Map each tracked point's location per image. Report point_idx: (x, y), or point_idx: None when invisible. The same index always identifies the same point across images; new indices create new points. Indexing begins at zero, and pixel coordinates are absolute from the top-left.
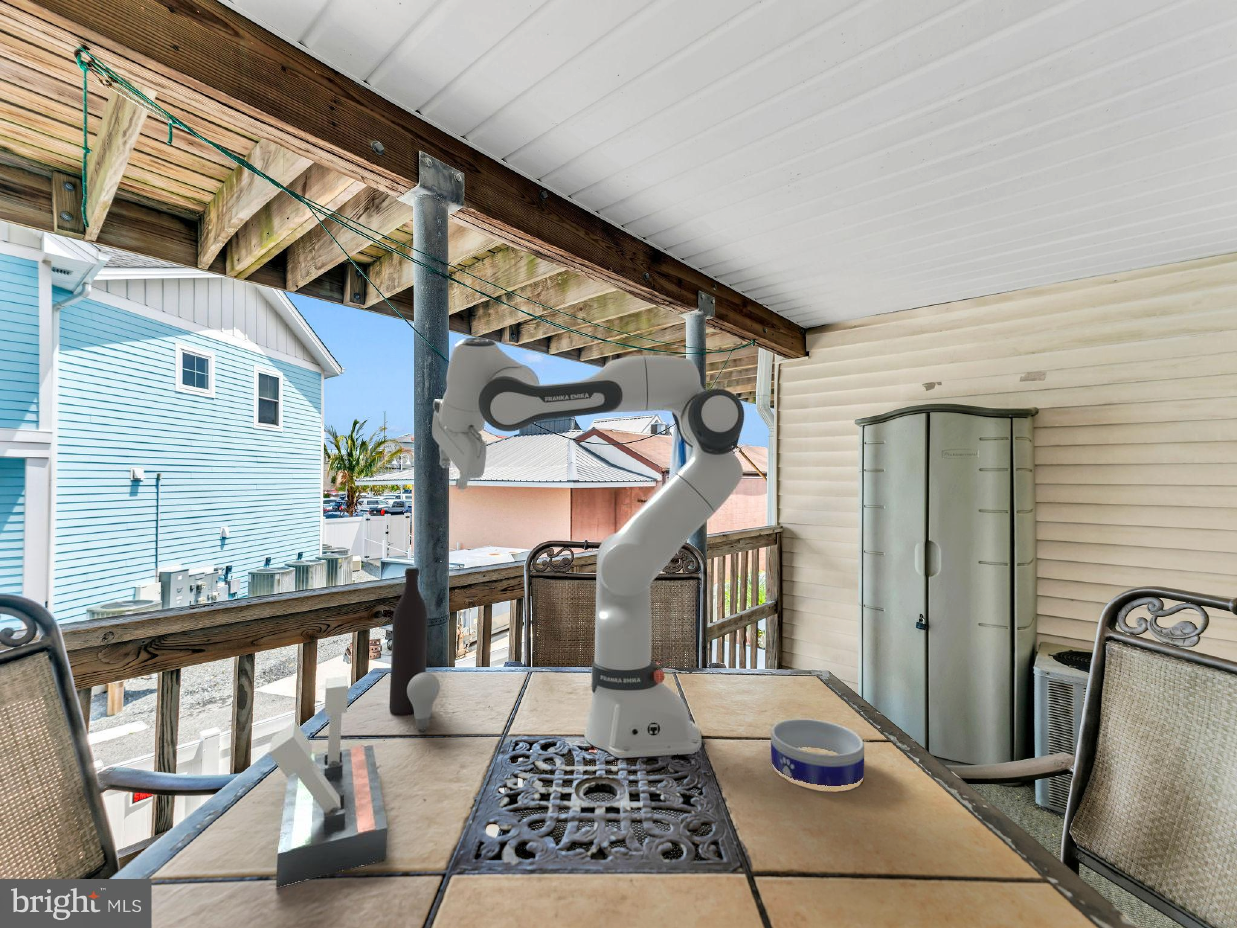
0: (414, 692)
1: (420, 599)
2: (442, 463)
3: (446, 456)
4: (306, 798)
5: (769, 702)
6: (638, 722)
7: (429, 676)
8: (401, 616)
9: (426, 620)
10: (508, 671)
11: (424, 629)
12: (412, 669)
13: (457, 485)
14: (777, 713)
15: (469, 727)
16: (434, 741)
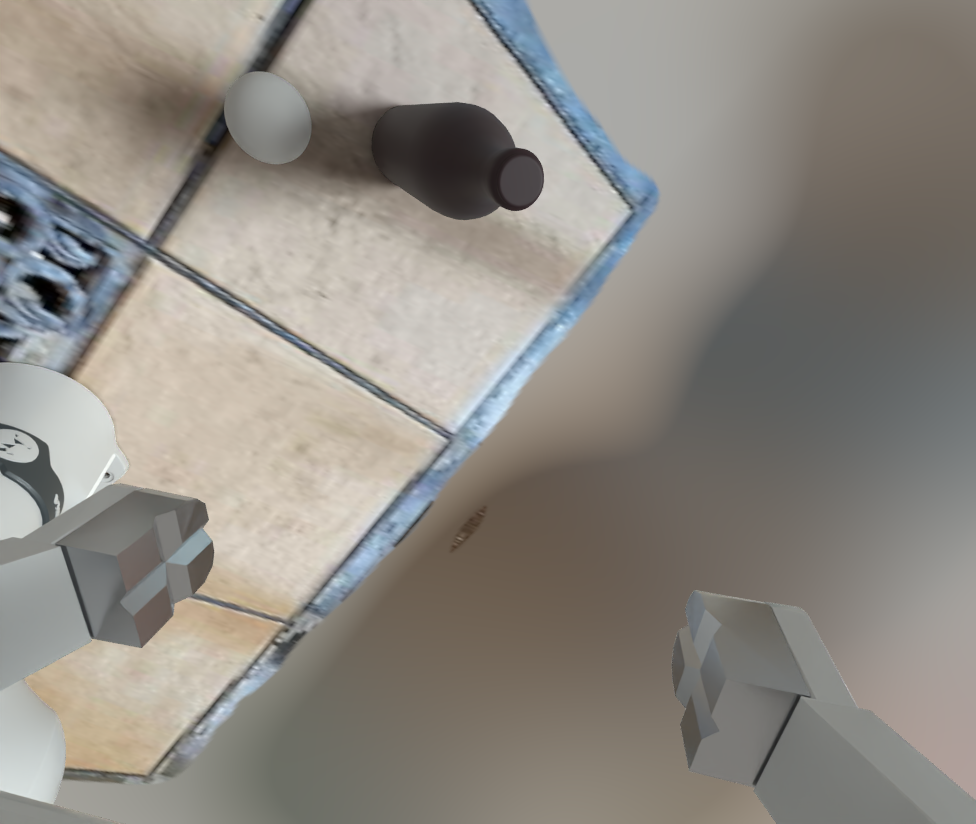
0: (238, 78)
1: (449, 191)
2: (712, 637)
3: (804, 802)
4: None
5: (65, 680)
6: None
7: (247, 126)
8: (436, 114)
9: (425, 203)
10: (478, 406)
11: (412, 190)
12: (386, 143)
13: (117, 500)
14: None
15: (231, 210)
16: (192, 110)
